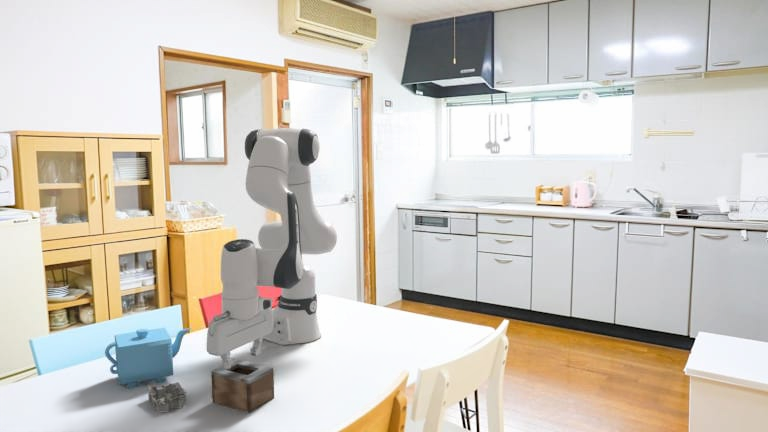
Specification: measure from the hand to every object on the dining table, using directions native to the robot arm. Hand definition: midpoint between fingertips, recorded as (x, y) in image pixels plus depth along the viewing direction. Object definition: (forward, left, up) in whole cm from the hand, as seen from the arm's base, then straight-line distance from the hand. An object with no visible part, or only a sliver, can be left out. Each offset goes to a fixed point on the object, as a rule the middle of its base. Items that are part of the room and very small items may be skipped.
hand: (242, 361), depth 137 cm
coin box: (0, 0, -10) cm, 10 cm away
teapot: (-32, -1, -10) cm, 34 cm away
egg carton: (-16, -10, -11) cm, 21 cm away
